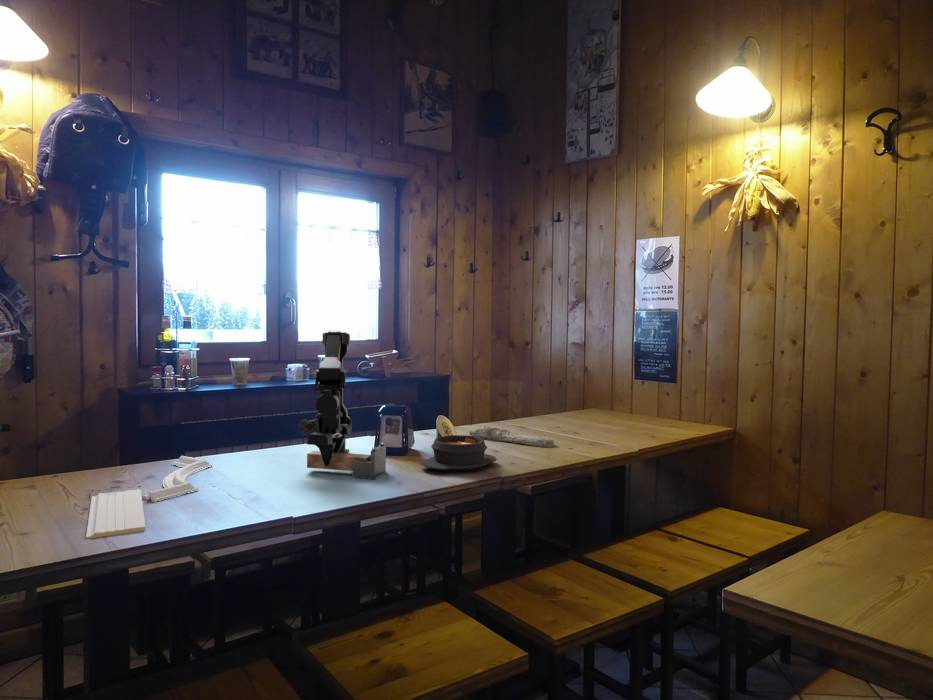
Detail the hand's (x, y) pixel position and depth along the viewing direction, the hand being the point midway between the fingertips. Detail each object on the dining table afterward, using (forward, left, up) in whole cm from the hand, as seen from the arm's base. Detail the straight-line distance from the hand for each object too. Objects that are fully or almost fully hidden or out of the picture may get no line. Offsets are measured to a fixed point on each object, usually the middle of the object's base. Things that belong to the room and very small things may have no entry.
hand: (329, 463), depth 180 cm
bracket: (0, +12, -2) cm, 12 cm away
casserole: (-16, +35, -3) cm, 38 cm away
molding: (+18, -37, -3) cm, 41 cm away
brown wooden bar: (0, +3, -1) cm, 3 cm away
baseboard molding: (+46, -32, -3) cm, 56 cm away
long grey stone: (-60, +45, -3) cm, 76 cm away
